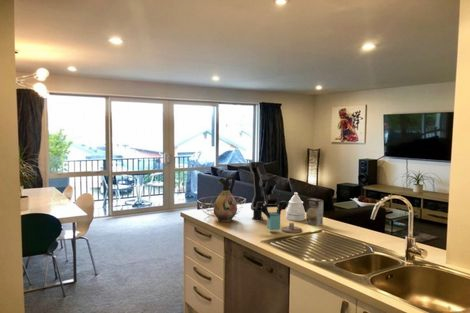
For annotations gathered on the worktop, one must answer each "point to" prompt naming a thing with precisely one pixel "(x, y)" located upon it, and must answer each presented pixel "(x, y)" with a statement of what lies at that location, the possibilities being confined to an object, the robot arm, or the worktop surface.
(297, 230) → the post stand
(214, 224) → the worktop surface
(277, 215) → the teal upright block
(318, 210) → the coffee box
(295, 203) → the honey pot
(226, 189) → the ceramic jug
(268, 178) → the robot arm
